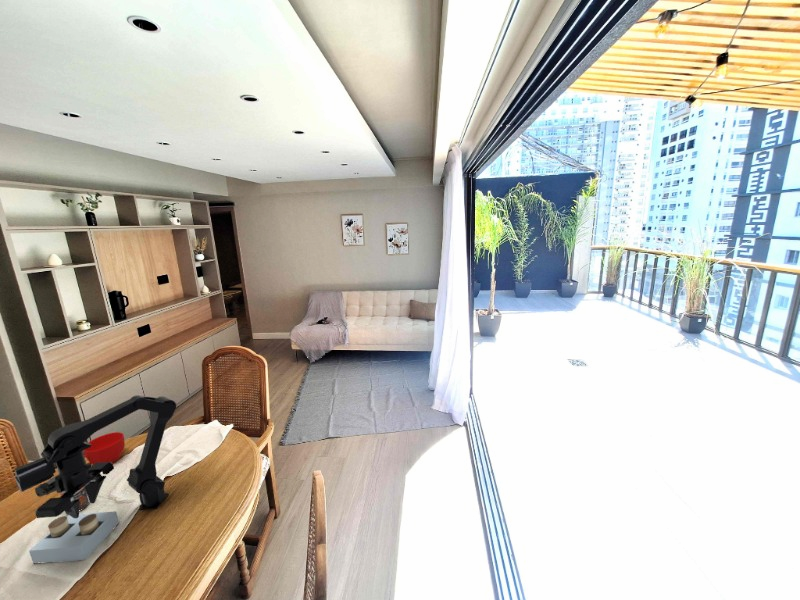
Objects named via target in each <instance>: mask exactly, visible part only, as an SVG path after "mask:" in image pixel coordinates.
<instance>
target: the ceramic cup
mask: <svg viewBox="0 0 800 600" xmlns="http://www.w3.org/2000/svg"><path fill="white" fill-rule="evenodd" d="M87 442H88V443H89V444H91V445H92V446H91V447H90V448H87V449H85V450H83V453H84V457H85V459H87V461H88V463H87V462H86V464H91V465H94V464H95V463H100V462H111V463H113V464H114V463H115V462H117V461H118V460H119V458H120V457H121V455H122V454H123V452H124V451H125V450H124V449H125V444H126V441H125V435H124V433H123V432H121V431H120V432H119V431H118V432H110V433H106V434H103V435H100V436H98V437H95V438H93V439H91V440H90V441H87Z"/></svg>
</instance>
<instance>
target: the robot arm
mask: <svg viewBox="0 0 800 600" xmlns="http://www.w3.org/2000/svg"><path fill="white" fill-rule="evenodd" d="M138 410H142V411H143V410H144V411H148V412H149V413H148V414H149V419H150V425H149V427H148V428H149V429H148V431H147V435H146V438H145V441H144V445H143V449H142V452H141V456H140V460H139V462H138V464H137V466H135V468H130V470H129V473H128V474H129V475H128V477H127V478H126V481H127V484H128V486H129V487H130V488H131V489H133V490H134V491H135V492H136V493H137V494H138V496H139V501H140V504H141V505H140V507H138V510H139V511H143V510H144V511H145V510H157V509H158V508H159V507H160V506H161V505H162V504H163V503H164V501H165V500H166V499H167V498H168V497H169V495H170V493H169V492H165V483H166V482H165V481H164V480H163V479H162V478H160V477H159V476H158V475H157V473H158V472H157V467H156V462H157V458H158V455H159V452H160V448H161V444H162V441H163V438H164V434H165V433H164V432H165V431H166V430H165V429H166V426H167V424H168V422H169V421H170V420H171V419H172V418H173V416H174V414H175V411H176V410H177V402H176V401H174V400H172V399H171V398H168V397H167V396H158V397H151V396H142V395H138V394H137V395H134V396H132V397H131V398H129V399H126V400H125V401H123V402H121V403H119V404H116V405H115V406H113V407H111V408H109V409H107V410H105V411H103V412H100V413H98V414H96V415H94V416H91V417H90V418H88V419H85V420H82V421H77V422H72V423H70V424H67V425H64V426H62V427H59V428H57V429H55V430H53V431H52V432H51V433H50V434H49V436H48V439H47V444H45V445H46V446H45V447H44V448H43V450H42V452H41V453H40V456H41V457H40V458H38V459H36V460H34V461H31V462H29V463H26V464H23V465H20V466H17V467H15V468H14V474H15V477H14V479H15V482H16V484H17V487H18V489H19V491H20V492H21V493H23V492H25V491H27V490H29V489H32V488H33V487H35V486H36V487H35V488H34V491H35V495H37V497H39V498H40V497H41V498H42V497H44V496H49V495H50V494H51V493H54V492H56V494H57V493H59V494H61V492H62V491H65V493H64V494H63V495H62V496H61V495H60V496H59V497H51V498H49V499H47V500H46V501H45V502H44V503H42V504H41V505H39V507H38V508H36V510H35V512H34V513H35V516H36V519H42V518H45V519H46V518H55V517H58V516H61V515H62V514H63V513H65V514H66V515H68V516H69V515H70V516H71V517H73V518H78V517H79V514H80V511H79V500H74V495H75V494H76V493H77V492H79V491H80V490H81V489H82V488H83V487H84V488H85V489H86V492H87V496H88V500H89V502H90V504H94V503H96V501H97V498H98V495H99V494H100V490H101V487H102V486H103V483H104V481H105V479H106V478H107V475H109V474H110V473H111V472H112V471H114V469H115V466H114V463H111V462H100V463H95V464H87V461H86V457H84V455H85V454H84V452H83V450H85V449H87V448H90V447H91V446H92V445H91V444H89V443H88V442H89V441H87V440H89V438H91V436H93V435H94V434H95V433H97V432H98V431H100V430H102V429H104V428H106V427H108V426H110V425H112V424H114V423H116V422H117V421H119V420H121V419H123V418H125V417H127V416H129V415H132V414H133V413H134V412H137V411H138ZM55 464H56V467H57V471H58V474H56V475H55V473H56V467H55ZM101 473H102V474H101Z"/></svg>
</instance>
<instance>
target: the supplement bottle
mask: <svg viewBox="0 0 800 600" xmlns="http://www.w3.org/2000/svg"><path fill="white" fill-rule="evenodd" d="M64 493H65V491H62V492H61V493H60V497H61V496H62V495H63V494H64ZM74 500H79V510H81V509H82V510H83V508H84V507H85V508H86V507H87V506H88V505H89V504H88V503H89V502H90V501H89V498H88V495H87V492H86V489H85V488H84V487H83V488H82V489H81V490H80V491H79V492H77V493H76V494H75V495H74ZM85 508H84V509H85ZM82 510H81V511H82Z"/></svg>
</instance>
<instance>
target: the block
mask: <svg viewBox="0 0 800 600" xmlns="http://www.w3.org/2000/svg"><path fill="white" fill-rule="evenodd" d="M90 514H96V516H97V519H98V523H99V527H98V528H97V529H96V530H95V531H94V532H93V533H92V534H90V535H86V536H82V534H81V531H80V528H79V524H78V523H79V521H80V520H81V519H83V518H84V517H86V516H88V515H90ZM118 517H119V516H118V514H117V511H114V510H113V511H102V512H89V513H79V517H78V518H73V517H71V516H70V515H69V514H68V516H67V519H68V522H69V526H70V529H69V530H68V531H67V532H66V533H65V534H64V535H63V536H61V537H59V538H52V537H51V534H50V532H48V533H47V534H46V535H45V536H44V537H43V538H41V539H40V540H39V541H38V542H36V544H35V545H34V546H32V547H31V548H30V549H29V550H28V551H29V556H30V557H31V561H32V564H33V563H38V562H53V563H62V562H63V563H64V561H65V562H75V561H86V560H87V559H88V558H89V557H90V556H91V555H92V554H93V552H94V551H95V550H97V548H98V547H100V546H101V544H102V543H103V542H104V541H105V540H106V538H107V537H108V536H110V534H111V533H112V532H113V531H114V530H113V528H114V527H115V526H116V525H117V524H118V523H119V524H120V522H119V521H120V520H119V518H118ZM119 524H118V525H119ZM118 525H117V526H118ZM117 526H116V527H117ZM116 527H115V528H116ZM112 530H113V531H112ZM111 531H112V532H111Z"/></svg>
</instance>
